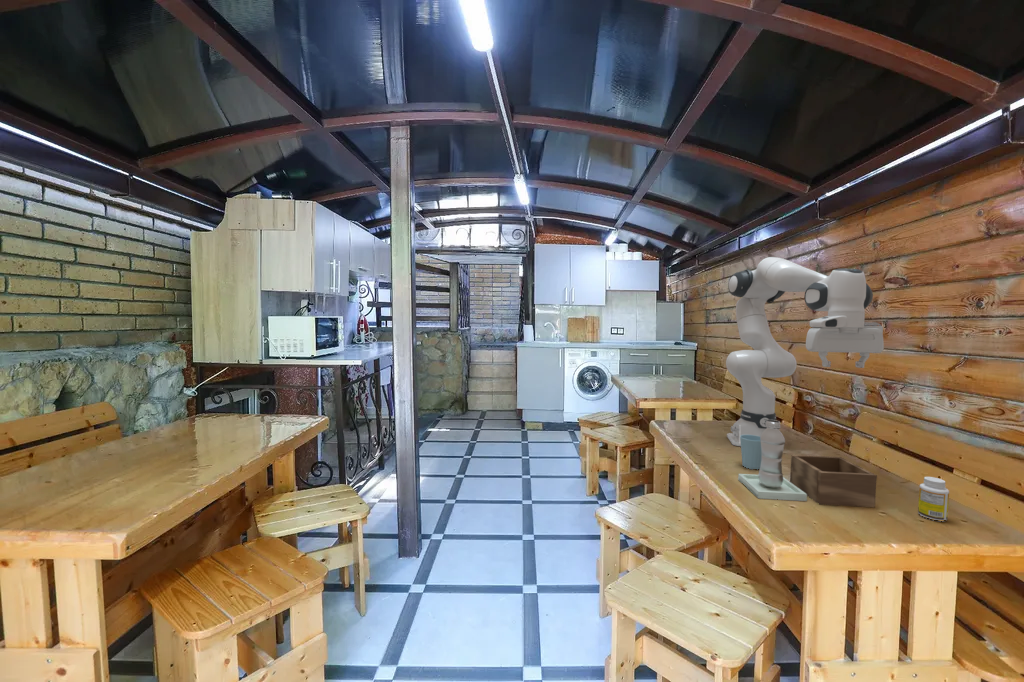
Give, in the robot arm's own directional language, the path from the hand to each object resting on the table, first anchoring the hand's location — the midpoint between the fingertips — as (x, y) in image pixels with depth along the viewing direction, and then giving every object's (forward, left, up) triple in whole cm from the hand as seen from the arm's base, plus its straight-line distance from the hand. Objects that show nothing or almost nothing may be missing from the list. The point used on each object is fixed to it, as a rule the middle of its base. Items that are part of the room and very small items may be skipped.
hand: (842, 367), depth 129 cm
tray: (+6, -22, -37) cm, 44 cm away
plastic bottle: (+6, -22, -36) cm, 43 cm away
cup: (-14, -19, -37) cm, 44 cm away
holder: (+7, -6, -37) cm, 38 cm away
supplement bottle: (+19, +12, -37) cm, 44 cm away
